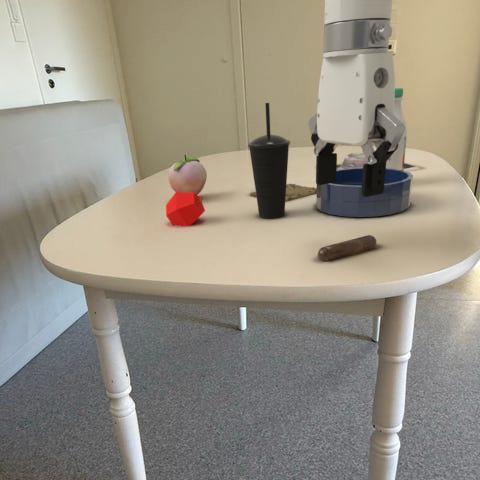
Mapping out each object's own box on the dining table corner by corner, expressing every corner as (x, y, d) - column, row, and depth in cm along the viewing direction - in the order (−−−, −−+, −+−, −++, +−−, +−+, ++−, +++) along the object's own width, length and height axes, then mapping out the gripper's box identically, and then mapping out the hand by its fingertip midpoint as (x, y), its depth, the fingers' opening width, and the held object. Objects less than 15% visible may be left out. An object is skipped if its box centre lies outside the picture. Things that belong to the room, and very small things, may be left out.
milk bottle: (397, 191, 97) (407, 88, 87) (362, 190, 100) (367, 90, 91) (405, 184, 102) (415, 86, 93) (371, 182, 106) (377, 88, 96)
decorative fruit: (183, 194, 110) (177, 151, 105) (213, 195, 107) (209, 151, 102) (164, 204, 102) (157, 158, 97) (196, 205, 99) (190, 158, 94)
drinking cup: (256, 224, 82) (249, 105, 73) (249, 214, 89) (242, 104, 80) (296, 220, 83) (294, 101, 74) (286, 210, 90) (283, 100, 80)
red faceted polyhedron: (152, 200, 82) (189, 183, 79) (168, 198, 89) (202, 182, 86) (167, 235, 84) (203, 220, 81) (181, 231, 90) (216, 217, 87)
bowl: (366, 192, 98) (367, 164, 95) (429, 208, 84) (433, 175, 81) (299, 207, 91) (298, 177, 89) (356, 226, 77) (357, 191, 75)
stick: (369, 246, 68) (370, 232, 67) (379, 250, 66) (380, 235, 65) (314, 261, 64) (314, 246, 63) (323, 265, 63) (323, 250, 62)
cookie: (287, 185, 109) (287, 181, 109) (323, 192, 100) (323, 188, 100) (248, 195, 103) (248, 191, 103) (282, 203, 94) (282, 198, 94)
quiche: (352, 180, 110) (353, 163, 108) (315, 168, 127) (316, 153, 125) (424, 169, 115) (426, 153, 113) (380, 160, 132) (381, 145, 130)
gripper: (437, 33, 47) (416, 195, 55) (335, 47, 61) (330, 176, 69) (383, 34, 44) (369, 205, 53) (289, 49, 58) (289, 183, 66)
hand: (347, 188), depth 61 cm, fingers open, 9 cm apart
